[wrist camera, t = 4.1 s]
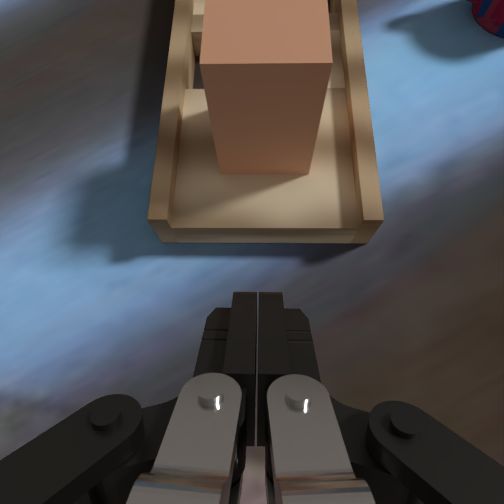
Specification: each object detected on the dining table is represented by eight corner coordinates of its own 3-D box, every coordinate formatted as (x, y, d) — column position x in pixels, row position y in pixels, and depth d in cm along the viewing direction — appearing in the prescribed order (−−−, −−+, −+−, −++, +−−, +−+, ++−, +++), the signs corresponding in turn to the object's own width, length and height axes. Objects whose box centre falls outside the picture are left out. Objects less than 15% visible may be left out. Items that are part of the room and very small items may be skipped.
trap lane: (367, 243, 26) (390, 210, 21) (162, 242, 26) (140, 209, 21) (332, -88, 39) (342, -153, 35) (198, -85, 40) (189, -149, 35)
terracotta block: (308, 174, 25) (332, 62, 17) (220, 174, 25) (199, 63, 17) (305, 104, 27) (325, -27, 19) (223, 104, 27) (207, -25, 19)
